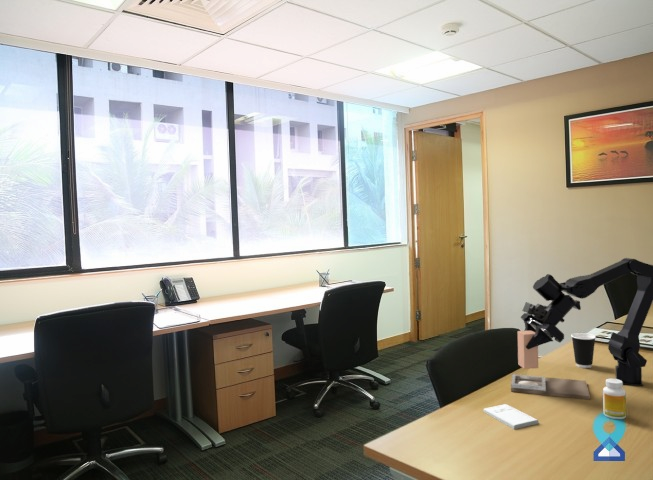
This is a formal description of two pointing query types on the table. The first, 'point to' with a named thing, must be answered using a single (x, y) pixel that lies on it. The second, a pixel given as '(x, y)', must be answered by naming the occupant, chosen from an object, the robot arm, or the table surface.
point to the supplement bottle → (614, 399)
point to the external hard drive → (510, 416)
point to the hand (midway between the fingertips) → (523, 346)
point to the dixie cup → (583, 349)
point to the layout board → (550, 386)
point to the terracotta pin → (527, 351)
